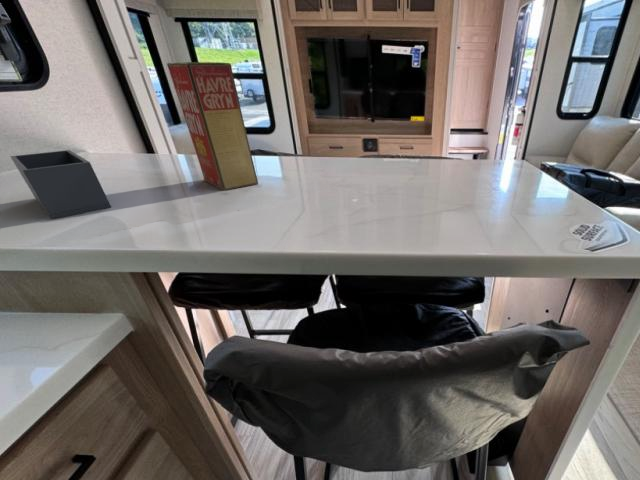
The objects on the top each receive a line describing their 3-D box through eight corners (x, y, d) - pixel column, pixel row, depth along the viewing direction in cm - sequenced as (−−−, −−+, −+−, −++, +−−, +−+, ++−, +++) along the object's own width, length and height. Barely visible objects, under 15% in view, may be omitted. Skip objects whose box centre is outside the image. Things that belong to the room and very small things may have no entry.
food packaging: (201, 180, 87) (164, 61, 72) (237, 174, 92) (209, 63, 78) (222, 191, 79) (185, 61, 65) (260, 183, 84) (233, 62, 70)
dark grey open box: (36, 199, 72) (10, 156, 67) (90, 190, 78) (69, 149, 73) (51, 219, 63) (22, 170, 58) (111, 207, 69) (89, 162, 64)
